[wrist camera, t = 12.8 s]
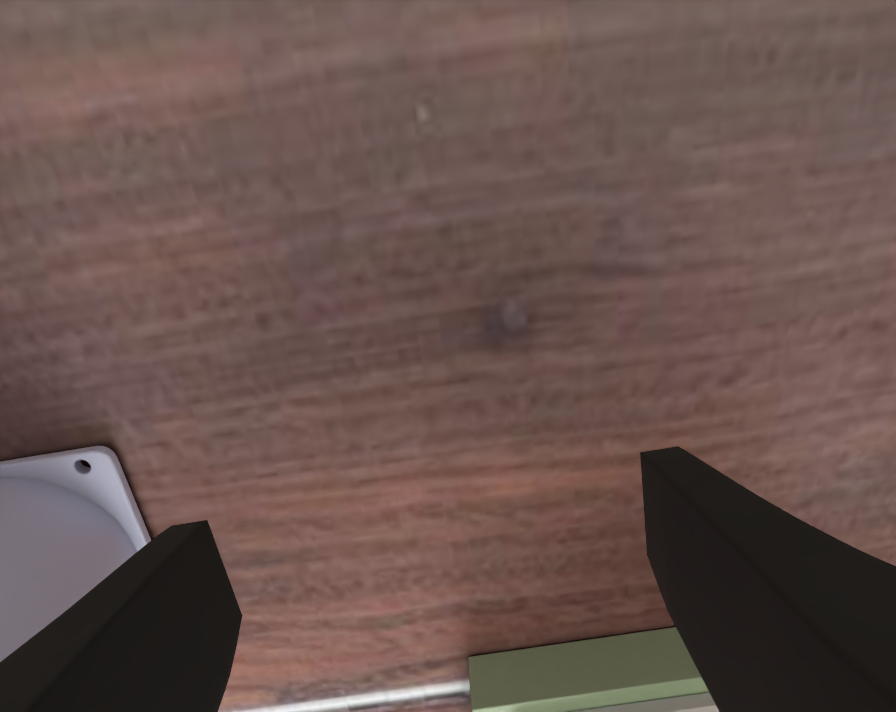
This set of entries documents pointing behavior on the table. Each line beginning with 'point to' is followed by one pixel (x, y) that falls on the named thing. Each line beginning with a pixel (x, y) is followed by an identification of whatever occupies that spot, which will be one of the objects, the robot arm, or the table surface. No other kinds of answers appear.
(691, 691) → the scale
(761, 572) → the robot arm
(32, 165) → the table surface
